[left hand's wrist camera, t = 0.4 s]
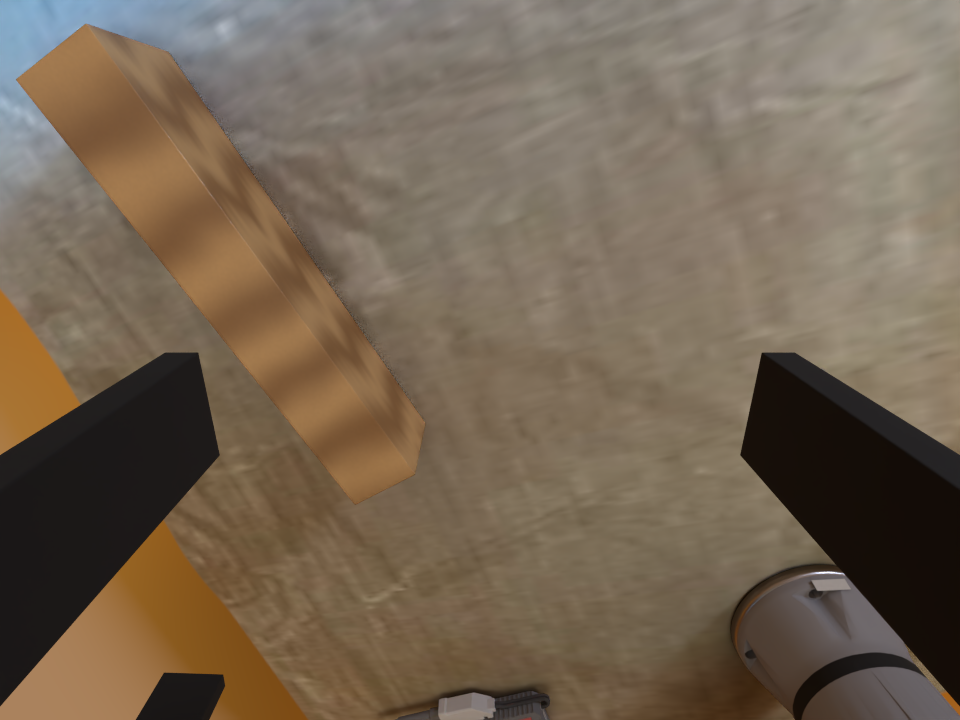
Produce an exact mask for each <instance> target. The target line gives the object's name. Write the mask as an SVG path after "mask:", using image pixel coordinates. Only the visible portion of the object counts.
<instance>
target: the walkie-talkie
mask: <svg viewBox="0 0 960 720" xmlns="http://www.w3.org/2000/svg"><path fill="white" fill-rule="evenodd" d="M549 704H550V701H549V696H548V695H546V694H539V693H537V692H534V691H527V692H523V693H518V694H514V695H509V696H505V697H500V698H496V699H494V698H492V697H491V696H487V695H483V694H478V693H474V692H473V693H469V694H464V695H460V696H455V697H451V698H442V699H439V707H434V708H431V709H430V710H428V711H423V712H419V713H414V714H410V715H406V716H401V717H399V718H398V719H396V720H549V718H548V715H547V713H546V710H545V708H546V707H548V706H549Z"/></svg>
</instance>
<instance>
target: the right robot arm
mask: <svg viewBox="0 0 960 720" xmlns="http://www.w3.org/2000/svg"><path fill="white" fill-rule="evenodd" d="M731 638H732V642H733V645H734V647H735V649H736V651H737V652H738V654H739V656H740V658H741V660H742V661H743V663H744V664H745V666H746V667H747V668H748V670H749V671H750V672H751V673H752V674H753V675H754V676H755V677H756V678H757V679H758V680H759V682H760V683H761V684H762V685H763V686H764V687H765V688H766V689H767V690H768V691H769V692H770V693H771V694H772V695H773V696H774V697H775V698H776V699H777V700H778V701H779V702H780V703H781V704H782V705H783V706H784V707H785V708H786V709H787V710H788V711H789V712H790V713H791V714H792V715H793V717H794V719H795V720H960V716H959V715H958V713H957V712H956V711H955V710H954V709H953V708H952V707H951V705H950V704H949V703H948V702H947V701H946V700H945V698H944V697H943V696H942V695H941V694H940V693H939V691H938V690H937V689H936V688H935V687H934V686H933V684H932V683H931V682H930V681H929V680H928V679H927V678H926V677H925V675H924V674H923V673H922V672H921V671H920V670H919V668H918V667H917V666H916V665H915V664H914V662H913V661H912V659H911V657H910V655H909V653H908V650H907V648H906V646H905V643H904V642H903V641H902V640H901V638H900V637H899V636H898V635H897V634H896V633H895V632H894V630H893V629H892V628H891V627H890V626H889V625H888V624H887V622H886V621H885V620H884V619H883V618H882V617H881V616H880V614H879V613H878V612H877V611H876V610H875V609H874V607H873V606H872V605H871V604H870V603H869V602H868V601H867V599H866V598H865V597H864V596H863V595H862V594H861V593H860V591H859V590H858V589H857V588H856V587H855V586H854V585H853V583H852V582H851V581H850V580H849V579H848V578H847V577H846V575H845V574H844V573H843V572H842V571H841V570H840V569H839V567H838V566H832V565H809V566H803V567H798V568H794V569H790V570H787V571H784V572H782V573H779V574H777V575H775V576H773V577H771V578H769V579H767V580H765V581H764V582H762V583H761V584H759V585H758V586H757V587H756V588H754V589H753V590H752V591H751V592H750V593H749V594H748V595H747V596H746V597H745V598H744V599H743V601H742V602H741V603H740V605H739V606H738V608H737V610H736V612H735V614H734V617H733V619H732V624H731ZM224 687H225V683H224V677H223V675H217V674H188V673H164V674H163V676H162V677H161V679H160V680H159V682H158V684H157V685H156V687H155V689H154V691H153V692H152V694H151V696H150V697H149V699H148V700H147V702H146V704H145V705H144V707H143V709H142V710H141V712H140V714H139V715H138V717H137V719H136V720H209V719H210V717H211V715H212V713H213V710H214V708H215V706H216V704H217V702H218V700H219V698H220V695H221V693H222V691H223V689H224Z"/></svg>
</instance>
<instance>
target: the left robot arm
mask: <svg viewBox="0 0 960 720" xmlns="http://www.w3.org/2000/svg"><path fill="white" fill-rule="evenodd" d="M219 455H220V454H219V450H218V445H217V440H216V435H215V431H214V426H213V421H212V416H211V412H210V407H209V402H208V397H207V393H206V388H205V383H204V378H203V374H202V369H201V364H200V359H199V355H198V353H164V354H162V355H161V356H159V357H157V358H156V359H154V360H153V361H151V362H149V363H148V364H146V365H145V366H143V367H141V368H140V369H138V370H137V371H135V372H133V373H132V374H130V375H128V376H127V377H125V378H124V379H122V380H120V381H119V382H117V383H116V384H114V385H112V386H111V387H109V388H108V389H106V390H104V391H103V392H101V393H99V394H98V395H96V396H95V397H93V398H91V399H90V400H88V401H87V402H85V403H83V404H82V405H80V406H79V407H77V408H75V409H74V410H72V411H70V412H69V413H67V414H66V415H64V416H62V417H61V418H59V419H58V420H56V421H54V422H53V423H51V424H50V425H48V426H46V427H45V428H43V429H42V430H40V431H38V432H37V433H35V434H33V435H32V436H30V437H29V438H27V439H25V440H24V441H22V442H21V443H19V444H17V445H16V446H14V447H12V448H11V449H9V450H8V451H6V452H4V453H3V454H1V455H0V706H1V705H2V704H3V702H4V701H5V700H6V699H7V698H8V697H9V696H10V694H11V693H12V692H13V691H14V690H15V689H16V688H17V686H18V685H19V684H20V683H21V682H22V681H23V680H24V678H25V677H26V676H27V675H28V674H29V673H30V672H31V670H32V669H33V668H34V667H35V666H36V665H37V664H38V662H39V661H40V660H41V659H42V658H43V657H44V655H45V654H46V653H47V652H48V651H49V650H50V649H51V648H52V646H53V645H54V644H55V643H56V642H57V641H58V639H59V638H60V637H61V636H62V635H63V634H64V633H65V632H66V630H67V629H68V628H69V627H70V626H71V625H72V623H73V622H74V621H75V620H76V619H77V618H78V617H79V615H80V614H81V613H82V612H83V611H84V610H85V609H86V607H87V606H88V605H89V604H90V603H91V602H92V601H93V599H94V598H95V597H96V596H97V595H98V594H99V593H100V591H101V590H102V589H103V588H104V587H105V586H106V585H107V583H108V582H109V581H110V580H111V579H112V578H113V577H114V575H115V574H116V573H117V572H118V571H119V570H120V569H121V567H122V566H123V565H124V564H125V563H126V562H127V561H128V559H129V558H130V557H131V556H132V555H133V554H134V553H135V551H136V550H137V549H138V548H139V547H140V546H141V545H142V543H143V542H144V541H145V540H146V539H147V538H148V537H149V535H150V534H151V533H152V532H153V531H154V530H155V528H156V527H157V526H158V525H159V524H160V523H161V522H162V521H163V519H164V518H165V517H166V516H167V515H168V514H169V513H170V511H171V510H172V509H173V508H174V507H175V506H176V505H177V503H178V502H179V501H180V500H181V499H182V498H183V497H184V495H185V494H186V493H187V492H188V491H189V490H190V489H191V487H192V486H193V485H194V484H195V483H196V482H197V481H198V479H199V478H200V477H201V476H202V475H203V474H204V472H205V471H206V470H207V469H208V468H209V467H210V466H211V464H212V463H213V462H214V461H215V460H216V459H217V458H218V456H219ZM740 455H741V456H742V458H743V459H744V460H745V461H746V462H747V463H748V464H749V466H750V467H751V468H752V469H753V470H754V471H755V472H756V474H757V475H758V476H759V477H760V478H761V479H762V481H763V482H764V483H765V484H766V485H767V486H768V487H769V489H770V490H771V491H772V492H773V493H774V494H775V495H776V497H777V498H778V499H779V500H780V501H781V502H782V503H783V505H784V506H785V507H786V508H787V509H788V510H789V511H790V513H791V514H792V515H793V516H794V517H795V518H796V519H797V521H798V522H799V523H800V524H801V525H802V526H803V527H804V529H805V530H806V531H807V532H808V533H809V534H810V535H811V537H812V538H813V539H814V540H815V541H816V542H817V543H818V545H819V546H820V547H821V548H822V549H823V550H824V551H825V553H826V554H827V555H828V556H829V557H830V558H831V559H832V561H833V562H834V563H835V564H836V565H837V566H838V567H839V569H840V570H841V571H842V572H843V573H844V574H845V575H846V577H847V578H848V579H849V580H850V581H851V582H852V583H853V585H854V586H855V587H856V588H857V589H858V590H859V591H860V593H861V594H862V595H863V596H864V597H865V598H866V599H867V601H868V602H869V603H870V604H871V605H872V606H873V607H874V609H875V610H876V611H877V612H878V613H879V614H880V616H881V617H882V618H883V619H884V620H885V621H886V622H887V624H888V625H889V626H890V627H891V628H892V629H893V630H894V632H895V633H896V634H897V635H898V636H899V637H900V638H901V640H902V641H903V642H904V643H905V644H906V645H907V646H908V648H909V649H910V650H911V651H912V652H913V653H914V654H915V656H916V657H917V658H918V659H919V660H920V661H921V662H922V664H923V665H924V666H925V667H926V668H927V669H928V670H929V672H930V673H931V674H932V675H933V676H934V677H935V678H936V680H937V681H938V682H939V683H940V684H941V685H942V686H943V688H944V689H945V690H946V691H947V692H948V693H949V694H950V696H951V697H952V698H953V699H954V700H955V701H956V702H957V704H958V705H959V706H960V455H959V454H957V453H956V452H954V451H952V450H951V449H949V448H948V447H946V446H944V445H943V444H941V443H939V442H938V441H936V440H935V439H933V438H931V437H930V436H928V435H927V434H925V433H923V432H922V431H920V430H919V429H917V428H915V427H914V426H912V425H910V424H909V423H907V422H906V421H904V420H902V419H901V418H899V417H898V416H896V415H894V414H893V413H891V412H890V411H888V410H886V409H885V408H883V407H881V406H880V405H878V404H877V403H875V402H873V401H872V400H870V399H869V398H867V397H865V396H864V395H862V394H861V393H859V392H857V391H856V390H854V389H852V388H851V387H849V386H848V385H846V384H844V383H843V382H841V381H840V380H838V379H836V378H835V377H833V376H832V375H830V374H828V373H827V372H825V371H823V370H822V369H820V368H819V367H817V366H815V365H814V364H812V363H811V362H809V361H807V360H806V359H804V358H803V357H801V356H799V355H798V354H796V353H762V355H761V359H760V364H759V369H758V374H757V378H756V383H755V388H754V393H753V397H752V402H751V407H750V412H749V416H748V421H747V426H746V431H745V435H744V440H743V445H742V450H741V454H740Z"/></svg>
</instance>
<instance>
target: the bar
mask: <svg viewBox="0 0 960 720" xmlns="http://www.w3.org/2000/svg"><path fill="white" fill-rule="evenodd" d="M16 80H17V82H18V83H19V84H20V85H21V87H22V88H23V89H24V90H25V92H26V93H27V94H28V95H29V97H30V98H31V99H32V100H33V102H34V103H35V104H36V105H37V107H38V108H39V109H40V110H41V112H42V113H43V114H44V115H45V117H46V118H47V119H48V120H49V122H50V123H51V124H52V125H53V127H54V128H55V129H56V130H57V132H58V133H59V134H60V135H61V137H62V138H63V139H64V140H65V142H66V143H67V144H68V145H69V147H70V148H71V149H72V151H73V152H74V153H75V154H76V156H77V157H78V158H79V159H80V161H81V162H82V163H83V164H84V166H85V167H86V168H87V169H88V171H89V172H90V173H91V174H92V176H93V177H94V178H95V179H96V181H97V182H98V183H99V184H100V186H101V187H102V188H103V189H104V191H105V192H106V193H107V194H108V196H109V197H110V198H111V199H112V201H113V202H114V203H115V204H116V206H117V207H118V208H119V209H120V211H121V212H122V213H123V214H124V216H125V217H126V218H127V219H128V221H129V222H130V223H131V224H132V226H133V227H134V228H135V229H136V231H137V232H138V233H139V234H140V236H141V237H142V238H143V240H144V241H145V242H146V243H147V245H148V246H149V247H150V248H151V250H152V251H153V252H154V253H155V255H156V256H157V257H158V258H159V260H160V261H161V262H162V263H163V265H164V266H165V267H166V268H167V270H168V271H169V272H170V273H171V275H172V276H173V277H174V278H175V280H176V281H177V282H178V283H179V285H180V286H181V287H182V288H183V290H184V291H185V292H186V293H187V295H188V296H189V297H190V298H191V300H192V301H193V302H194V303H195V305H196V306H197V307H198V308H199V310H200V311H201V312H202V313H203V315H204V316H205V317H206V318H207V320H208V321H209V322H210V323H211V325H212V326H213V327H214V329H215V330H216V331H217V332H218V334H219V335H220V336H221V337H222V339H223V340H224V341H225V342H226V344H227V345H228V346H229V347H230V349H231V350H232V351H233V352H234V354H235V355H236V356H237V357H238V359H239V360H240V361H241V362H242V364H243V365H244V366H245V367H246V369H247V370H248V371H249V372H250V374H251V375H252V376H253V377H254V379H255V380H256V381H257V382H258V384H259V385H260V386H261V387H262V389H263V390H264V391H265V392H266V394H267V395H268V396H269V397H270V399H271V400H272V401H273V402H274V404H275V405H276V406H277V407H278V409H279V410H280V411H281V412H282V414H283V415H284V416H285V418H286V419H287V420H288V421H289V423H290V424H291V425H292V426H293V428H294V429H295V430H296V431H297V433H298V434H299V435H300V436H301V438H302V439H303V440H304V441H305V443H306V444H307V445H308V446H309V448H310V449H311V450H312V451H313V453H314V454H315V455H316V456H317V458H318V459H319V460H320V461H321V463H322V464H323V465H324V466H325V468H326V469H327V470H328V471H329V473H330V474H331V475H332V476H333V478H334V479H335V480H336V481H337V483H338V484H339V485H340V486H341V488H342V489H343V490H344V491H345V493H346V494H347V495H348V496H349V498H350V499H351V500H352V502H353V503H354V504H355V505H356V504H358V503H360V502H362V501H364V500H365V499H367V498H369V497H371V496H373V495H375V494H377V493H379V492H381V491H383V490H385V489H387V488H389V487H391V486H393V485H395V484H397V483H399V482H401V481H403V480H405V479H407V478H409V477H411V476H413V475H415V472H416V467H417V462H418V457H419V452H420V447H421V443H422V438H423V433H424V428H425V422H424V421H423V419H422V418H421V416H420V415H419V413H418V412H417V411H416V409H415V408H414V406H413V405H412V403H411V402H410V400H409V399H408V398H407V396H406V395H405V393H404V392H403V390H402V389H401V387H400V386H399V385H398V383H397V382H396V380H395V379H394V377H393V376H392V374H391V373H390V372H389V370H388V369H387V367H386V366H385V364H384V363H383V361H382V360H381V359H380V357H379V356H378V354H377V353H376V351H375V350H374V348H373V347H372V346H371V344H370V343H369V341H368V340H367V338H366V337H365V335H364V334H363V333H362V331H361V330H360V328H359V327H358V325H357V324H356V322H355V321H354V320H353V318H352V317H351V315H350V314H349V312H348V311H347V309H346V308H345V307H344V305H343V304H342V302H341V301H340V299H339V298H338V296H337V295H336V294H335V292H334V291H333V289H332V288H331V286H330V285H329V283H328V282H327V281H326V279H325V278H324V276H323V275H322V273H321V272H320V270H319V269H318V268H317V266H316V265H315V263H314V262H313V260H312V259H311V257H310V256H309V255H308V253H307V252H306V250H305V249H304V247H303V246H302V244H301V243H300V242H299V240H298V239H297V237H296V236H295V234H294V233H293V231H292V230H291V229H290V227H289V226H288V224H287V223H286V221H285V220H284V218H283V217H282V216H281V214H280V213H279V211H278V210H277V208H276V207H275V205H274V204H273V203H272V201H271V200H270V198H269V197H268V195H267V194H266V192H265V191H264V190H263V188H262V187H261V185H260V184H259V182H258V181H257V179H256V178H255V177H254V175H253V174H252V172H251V171H250V169H249V168H248V166H247V165H246V164H245V162H244V161H243V159H242V158H241V156H240V155H239V153H238V152H237V151H236V149H235V148H234V146H233V145H232V143H231V142H230V140H229V139H228V138H227V136H226V135H225V133H224V132H223V130H222V129H221V127H220V126H219V125H218V123H217V122H216V120H215V119H214V117H213V116H212V114H211V113H210V112H209V110H208V109H207V107H206V106H205V104H204V103H203V101H202V100H201V98H200V97H199V96H198V94H197V93H196V91H195V90H194V88H193V87H192V85H191V84H190V83H189V81H188V80H187V78H186V77H185V75H184V74H183V72H182V71H181V70H180V68H179V67H178V65H177V64H176V62H175V61H174V59H173V58H172V57H171V55H170V54H169V52H167V51H164V50H161V49H158V48H156V47H153V46H150V45H147V44H144V43H141V42H138V41H135V40H132V39H129V38H127V37H124V36H121V35H118V34H115V33H112V32H109V31H106V30H103V29H100V28H97V27H95V26H92V25H89V24H85V25H84V26H82V27H81V28H80V29H79V30H77V31H76V32H75V33H74V34H72V35H71V36H70V37H69V38H67V39H66V40H65V41H64V42H62V43H61V44H60V45H59V46H57V47H56V48H55V49H54V50H52V51H51V52H50V53H49V54H47V55H46V56H45V57H44V58H42V59H41V60H40V61H39V62H37V63H36V64H35V65H34V66H32V67H31V68H30V69H29V70H27V71H26V72H25V73H24V74H22V75H21V76H20V77H18V78H17V79H16Z"/></svg>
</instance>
